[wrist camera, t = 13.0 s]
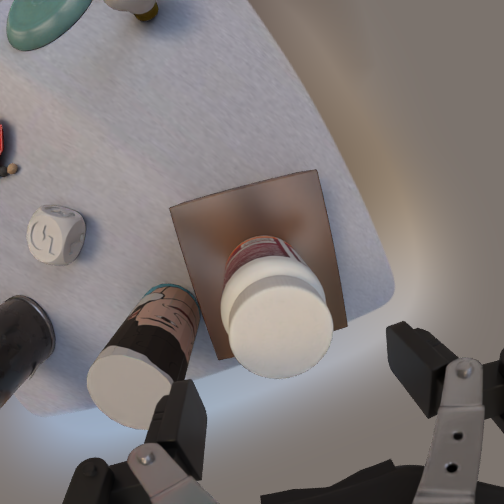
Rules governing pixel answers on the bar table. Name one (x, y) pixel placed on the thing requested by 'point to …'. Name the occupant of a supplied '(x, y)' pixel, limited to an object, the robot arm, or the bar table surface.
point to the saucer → (41, 21)
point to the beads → (8, 170)
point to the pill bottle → (274, 309)
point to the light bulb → (136, 7)
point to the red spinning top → (1, 140)
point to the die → (55, 235)
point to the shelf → (251, 225)
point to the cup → (145, 356)
